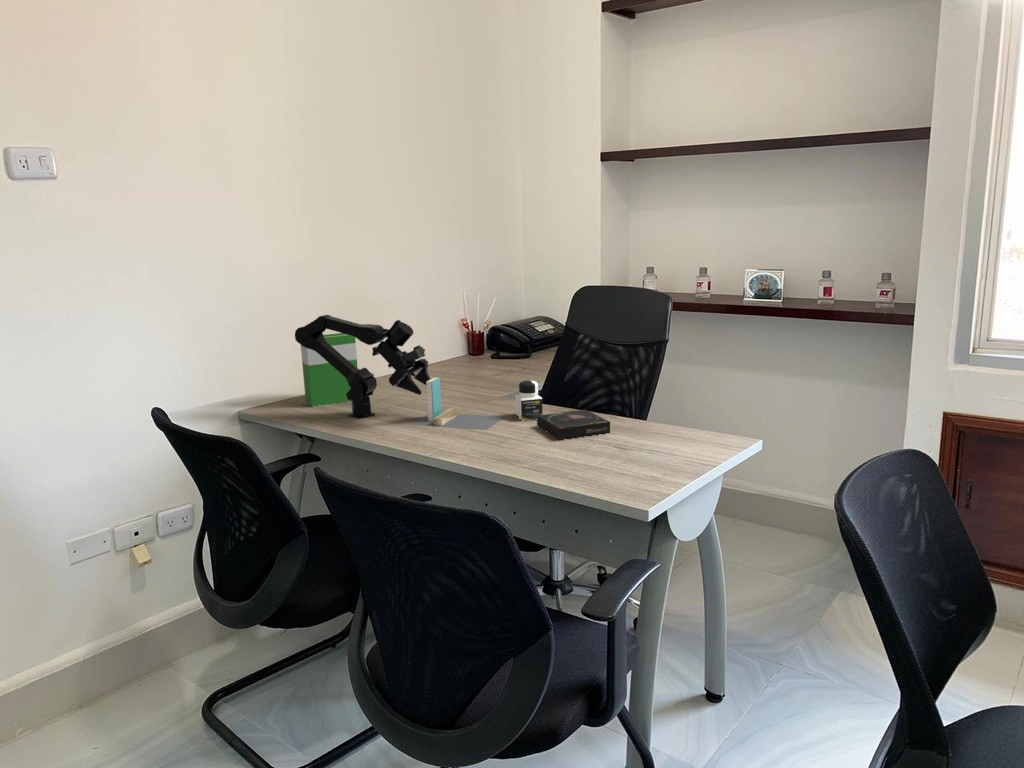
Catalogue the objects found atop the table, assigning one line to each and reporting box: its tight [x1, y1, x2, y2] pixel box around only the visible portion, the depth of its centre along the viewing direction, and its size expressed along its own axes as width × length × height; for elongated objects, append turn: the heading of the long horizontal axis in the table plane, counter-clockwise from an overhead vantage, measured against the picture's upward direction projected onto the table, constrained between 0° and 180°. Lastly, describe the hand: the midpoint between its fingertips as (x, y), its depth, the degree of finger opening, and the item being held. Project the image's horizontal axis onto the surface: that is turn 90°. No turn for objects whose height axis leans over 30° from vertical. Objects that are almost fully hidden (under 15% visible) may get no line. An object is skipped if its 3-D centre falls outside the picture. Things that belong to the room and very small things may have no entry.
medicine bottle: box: [514, 379, 544, 421], centre depth 248 cm, size 7×7×12 cm
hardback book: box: [300, 332, 359, 407], centre depth 275 cm, size 18×7×24 cm, turn 122°
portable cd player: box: [536, 409, 611, 441], centre depth 234 cm, size 16×17×4 cm
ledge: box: [433, 407, 460, 426], centre depth 247 cm, size 3×14×2 cm, turn 161°
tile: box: [425, 377, 443, 421], centre depth 247 cm, size 2×6×13 cm, turn 161°
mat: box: [410, 413, 505, 431], centre depth 246 cm, size 26×16×1 cm, turn 71°
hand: (426, 390), depth 247 cm, fingers open, 9 cm apart
